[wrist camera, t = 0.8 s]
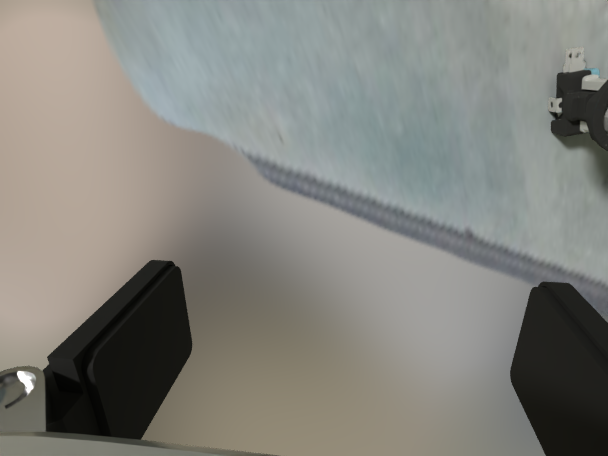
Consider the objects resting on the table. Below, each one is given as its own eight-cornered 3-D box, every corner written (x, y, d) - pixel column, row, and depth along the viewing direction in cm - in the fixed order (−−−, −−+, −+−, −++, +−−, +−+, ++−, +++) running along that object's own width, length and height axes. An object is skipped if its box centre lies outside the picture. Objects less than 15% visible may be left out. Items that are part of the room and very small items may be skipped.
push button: (532, 56, 31) (607, 50, 21) (607, 40, 30) (719, 27, 20) (532, 139, 33) (599, 166, 24) (601, 127, 32) (699, 150, 23)
